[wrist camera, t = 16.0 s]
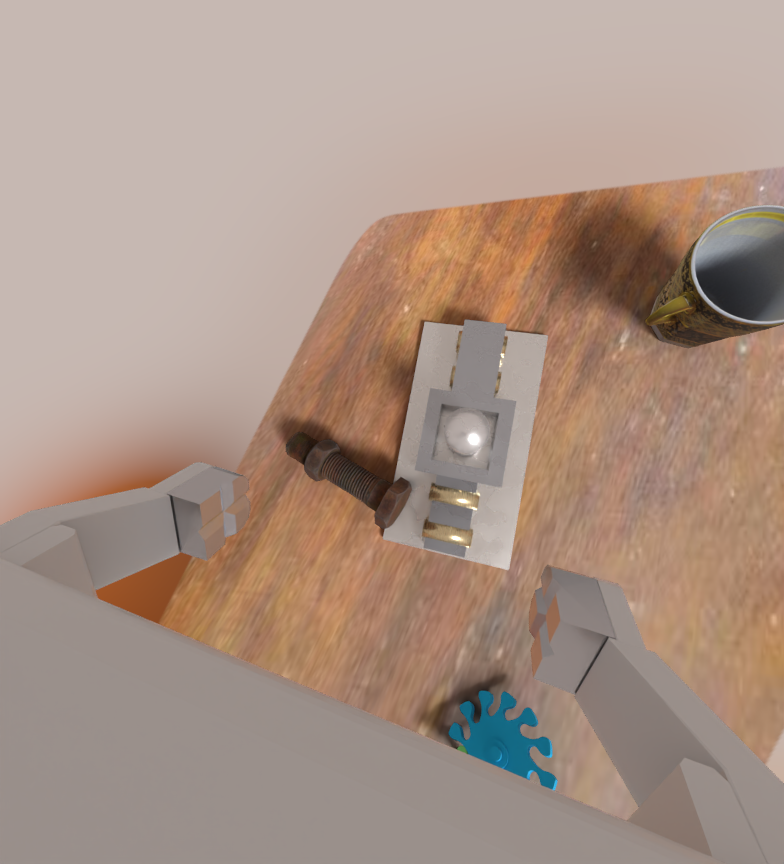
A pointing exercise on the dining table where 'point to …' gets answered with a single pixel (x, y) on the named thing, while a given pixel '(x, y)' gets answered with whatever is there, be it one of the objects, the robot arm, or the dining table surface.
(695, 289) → the ceramic cup
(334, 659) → the dining table surface
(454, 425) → the silver upright cylinder
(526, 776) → the gear
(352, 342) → the dining table surface
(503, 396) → the gray metal plate
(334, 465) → the bolt
